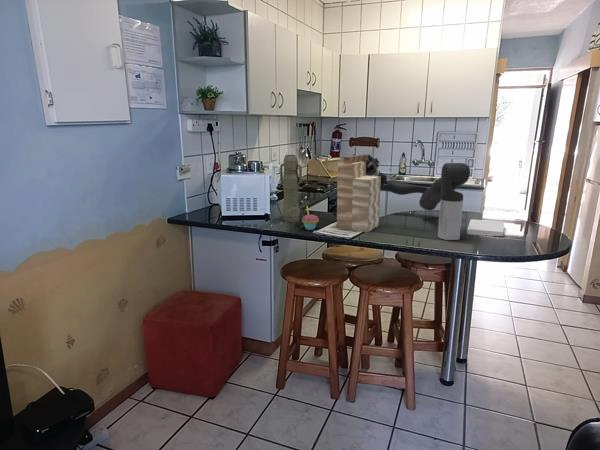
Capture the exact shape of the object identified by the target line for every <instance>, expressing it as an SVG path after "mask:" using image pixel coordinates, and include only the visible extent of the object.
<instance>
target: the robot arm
mask: <svg viewBox="0 0 600 450" xmlns="http://www.w3.org/2000/svg"><path fill="white" fill-rule="evenodd" d="M354 155H356V154H355V153H353V154H352V155H351V156H354ZM364 162H366V176H381V185H380V192H389V193H393V194H396V195H401V196H405V195H409V194H417V193H418V194H422V195H421V196H420V198H419V201H418V202H419V203H418V204H419V206H420V207H421V208H422V209H424V210H426V211H433V210H435V209H436V208H437V206H438V205H440V206H439V218H438V229H437V237H438V238H439V239H442V240H445V241H460V238H461V227H462V216H463V203H464V194H463V193H462V192H459V191H457V190H456V189H458V188H459V187H461V186H463V185H465V184H466V183H467V182H468V180H469V178H470V176H471V169H470V166H469V165H468V164H466V163H463V162H447V163H444V164H443V165H442V166H441V171H440V172H441V174H440V176H441V177H439V178H437V179H435V181H434V182H433V183H432V184H431V186H430V187H429V186H423V185H417V184H410V183H405V182H401V181H398V180H396V179H389V180H387V179H388V176H387V175H386V174H385V173H383V172H381V171H380V170H379V167H380V161H379V159H378V158H377V157H375V158H374V157H373V156H372V155H371V154H368V160H366V161H364ZM387 181H388V182H387Z"/></svg>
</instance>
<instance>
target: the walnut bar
mask: <svg viewBox="0 0 600 450" xmlns="http://www.w3.org/2000/svg"><path fill="white" fill-rule="evenodd" d="M368 155H369V154H368V153H366V154H365V153H362V154H355V155H354V156H352V155H349V156H348V155H347V156H343V157H342V158H343V161H342V163H344V164H350V163H355V162H361V161H366V160H368Z"/></svg>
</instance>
